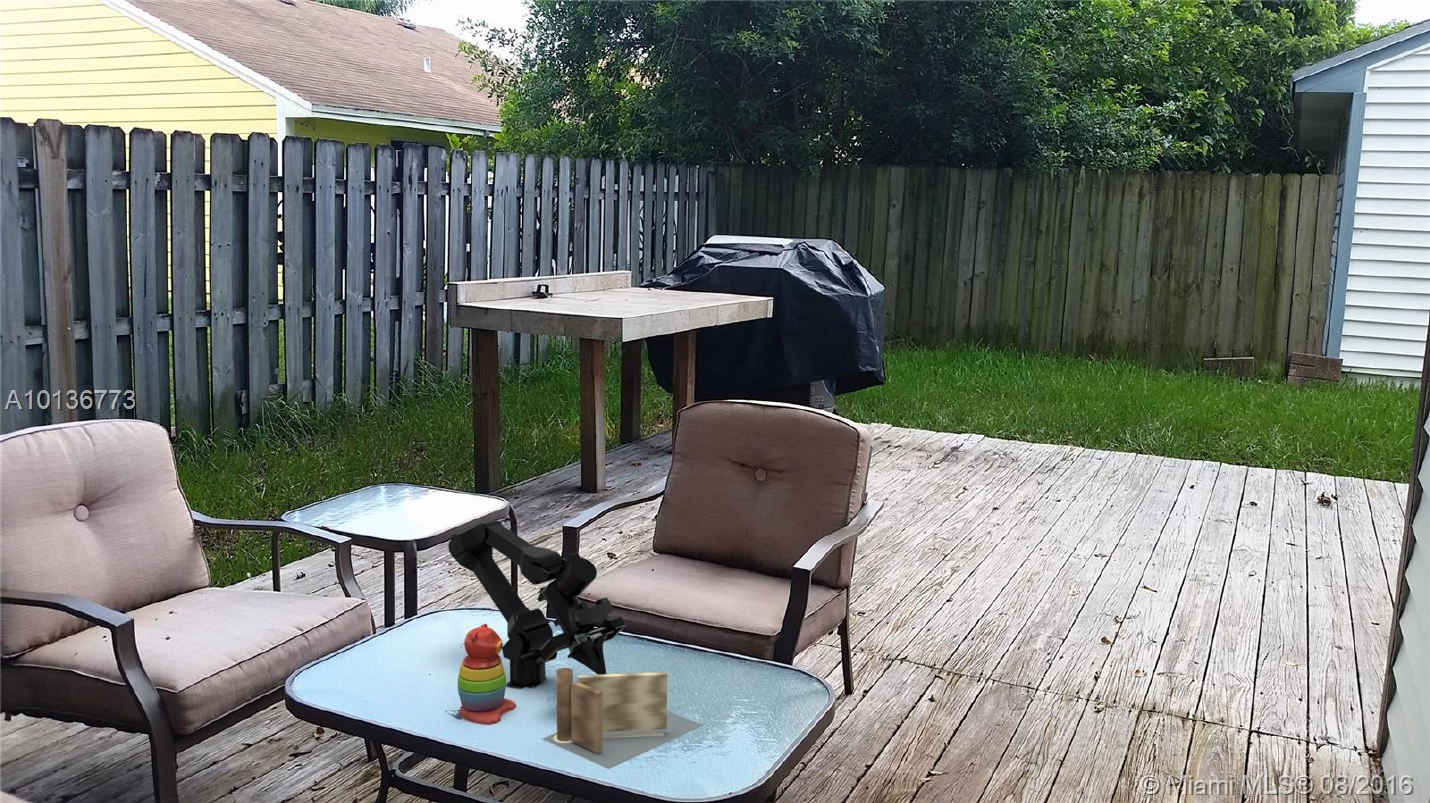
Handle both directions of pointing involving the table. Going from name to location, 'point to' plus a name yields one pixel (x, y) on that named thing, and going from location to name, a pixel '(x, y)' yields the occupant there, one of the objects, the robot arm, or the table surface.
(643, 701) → the folding fence panel
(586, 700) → the fixed fence panel
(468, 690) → the stacking bear
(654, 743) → the board
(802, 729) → the table surface
